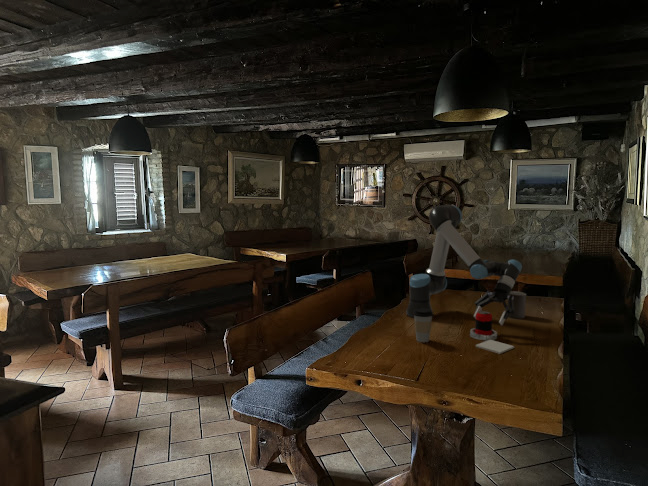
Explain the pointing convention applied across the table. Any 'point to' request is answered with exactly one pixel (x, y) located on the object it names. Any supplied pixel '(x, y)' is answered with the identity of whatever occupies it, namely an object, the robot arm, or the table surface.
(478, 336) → the steel ring holder
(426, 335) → the coffee cup
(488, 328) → the soda can
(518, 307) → the pillar candle
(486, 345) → the cream coaster
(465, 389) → the table surface
